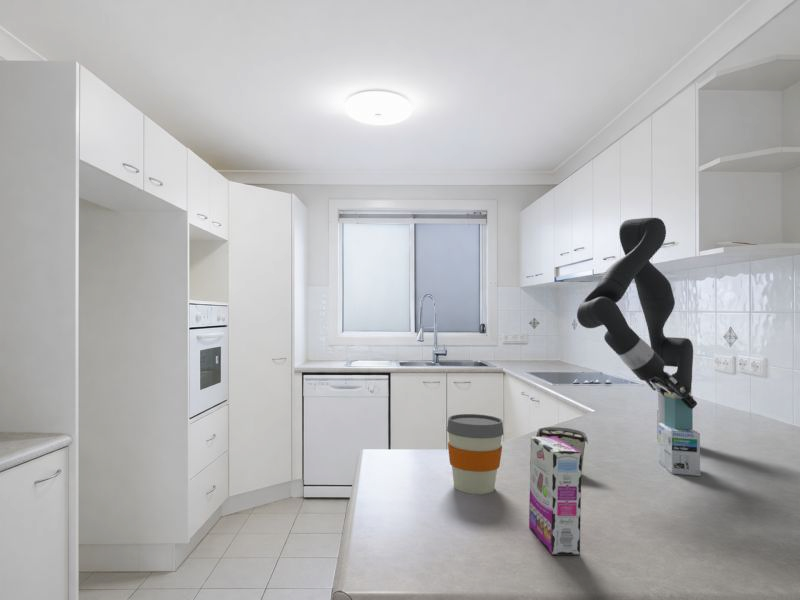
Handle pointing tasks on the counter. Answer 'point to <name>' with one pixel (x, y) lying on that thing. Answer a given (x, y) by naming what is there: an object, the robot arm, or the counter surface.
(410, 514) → the counter surface
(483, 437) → the reusable coffee cup
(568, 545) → the candy bar box
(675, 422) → the tea tin
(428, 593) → the counter surface
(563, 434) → the food container
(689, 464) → the light bulb box
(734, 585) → the counter surface
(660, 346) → the robot arm
